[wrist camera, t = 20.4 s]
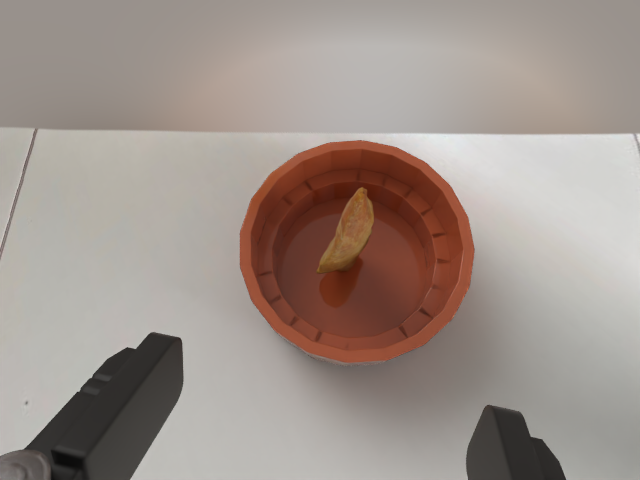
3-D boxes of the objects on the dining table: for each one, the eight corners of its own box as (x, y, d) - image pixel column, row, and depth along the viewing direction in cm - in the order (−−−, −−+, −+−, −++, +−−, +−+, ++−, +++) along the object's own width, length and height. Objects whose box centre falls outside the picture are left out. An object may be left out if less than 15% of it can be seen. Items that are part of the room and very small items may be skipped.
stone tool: (336, 297, 34) (340, 238, 20) (315, 281, 35) (303, 212, 21) (371, 251, 35) (398, 165, 21) (350, 236, 36) (362, 142, 22)
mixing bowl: (430, 176, 38) (451, 133, 32) (462, 358, 33) (495, 353, 26) (255, 188, 38) (239, 148, 32) (258, 372, 33) (239, 370, 26)
